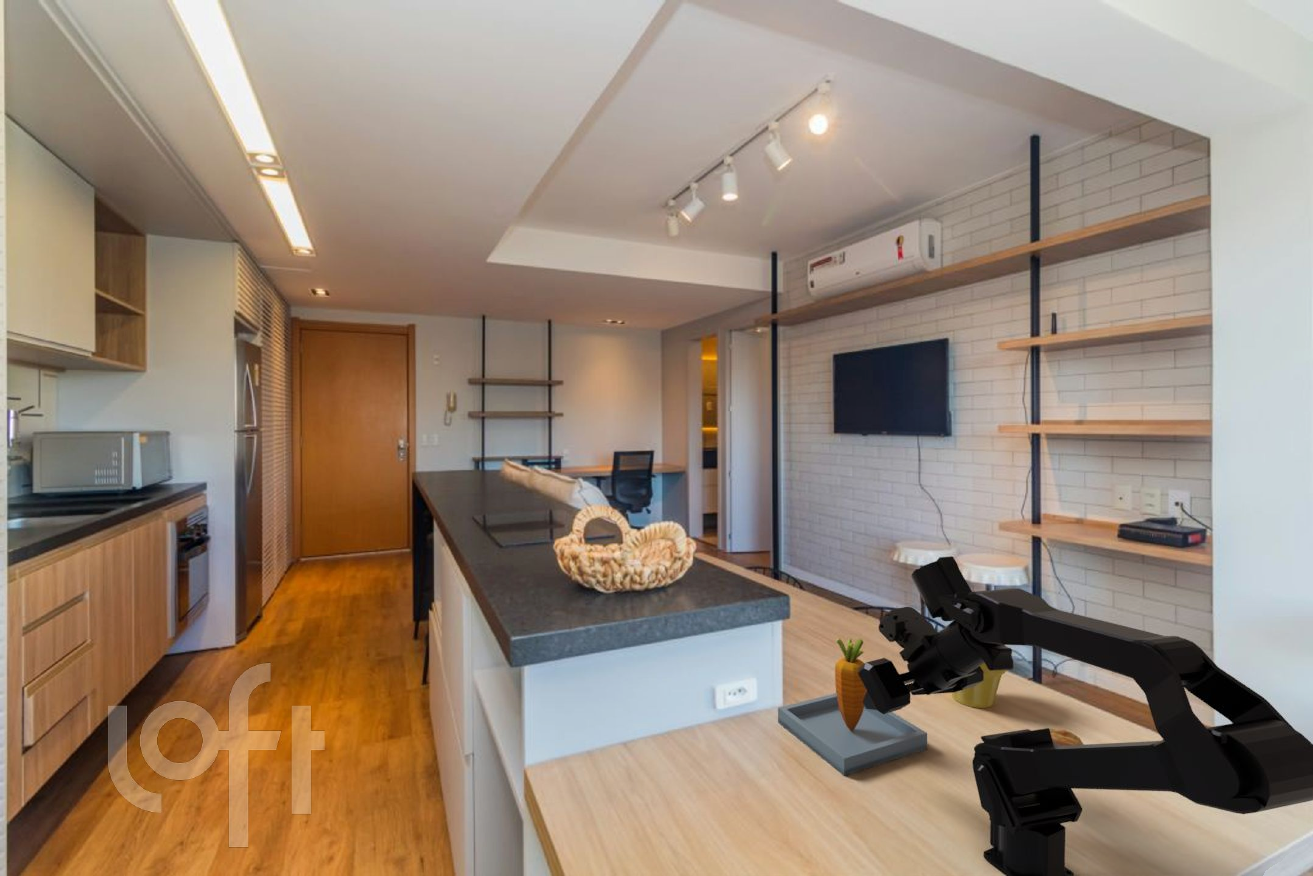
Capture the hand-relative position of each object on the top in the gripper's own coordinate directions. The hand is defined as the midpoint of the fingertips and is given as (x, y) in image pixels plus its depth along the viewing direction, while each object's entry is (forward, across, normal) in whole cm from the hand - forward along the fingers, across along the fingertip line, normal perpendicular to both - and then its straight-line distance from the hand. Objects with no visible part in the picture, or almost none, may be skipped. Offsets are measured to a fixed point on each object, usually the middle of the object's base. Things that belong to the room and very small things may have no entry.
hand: (888, 698), depth 87 cm
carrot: (+12, 0, +1) cm, 12 cm away
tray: (+12, 0, +1) cm, 12 cm away
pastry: (-1, -22, +15) cm, 27 cm away
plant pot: (+12, -28, +2) cm, 31 cm away
